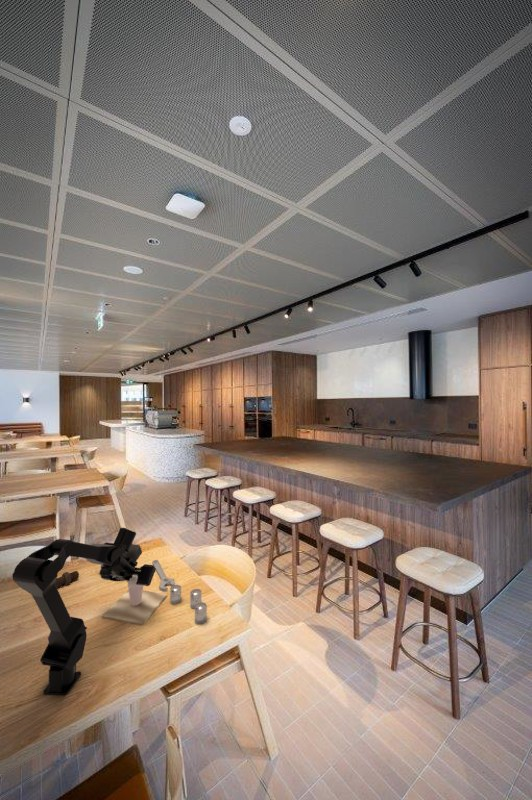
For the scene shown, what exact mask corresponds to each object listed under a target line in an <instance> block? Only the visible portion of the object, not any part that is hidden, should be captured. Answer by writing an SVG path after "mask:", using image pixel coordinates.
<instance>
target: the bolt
mask: <svg viewBox="0 0 532 800" xmlns="http://www.w3.org/2000/svg"><path fill="white" fill-rule="evenodd" d="M79 578H80V573H79V571H78V570H73V571H72V572H68V571H65V572H63V573H62V574H61V576H59V577H57V578H56V581H55V585H56V588H59V587H60V586H62V585H63V584H64V585H63V586H65V585H66V586H69V585H70V584H71V583H72V581H74V580H77V579H79Z"/></svg>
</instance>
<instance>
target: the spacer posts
mask: <svg viewBox="0 0 532 800" xmlns="http://www.w3.org/2000/svg"><path fill="white" fill-rule="evenodd" d="M169 590H170V591H169V603H170V604H171V605H173V606H174V605H175V606H176V605H178V604H180V603H181V602H182V586H181V585H180V584H175V585H174V586H172V587H171V586H170V589H169ZM189 595H190V596H189V597H190V598H189V599H190V603H189V605H190V609H191V610H194V623H195V624H196V625H203V624H205V623H206V622H207V620H208V619H207V617H208V616H207V615H208V613H207V611H208V606H207V605H208V604H207V603H205V602H202V590H201V589H200V588H194V589H192V590H191V591H190V594H189Z"/></svg>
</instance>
